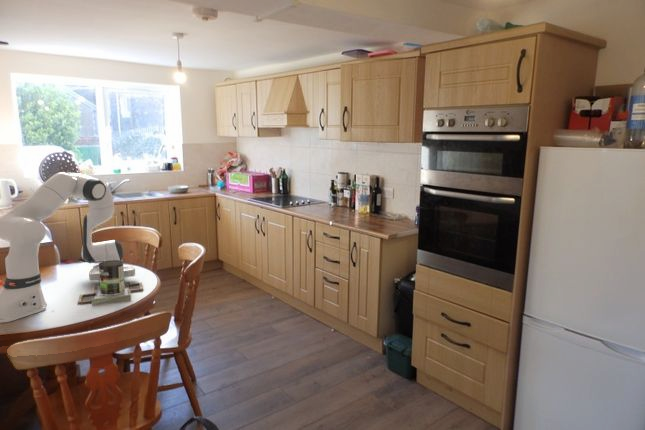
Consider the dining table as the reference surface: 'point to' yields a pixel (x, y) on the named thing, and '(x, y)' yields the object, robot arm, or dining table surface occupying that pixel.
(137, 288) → the lane
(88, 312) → the dining table surface
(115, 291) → the coffee can
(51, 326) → the dining table surface
